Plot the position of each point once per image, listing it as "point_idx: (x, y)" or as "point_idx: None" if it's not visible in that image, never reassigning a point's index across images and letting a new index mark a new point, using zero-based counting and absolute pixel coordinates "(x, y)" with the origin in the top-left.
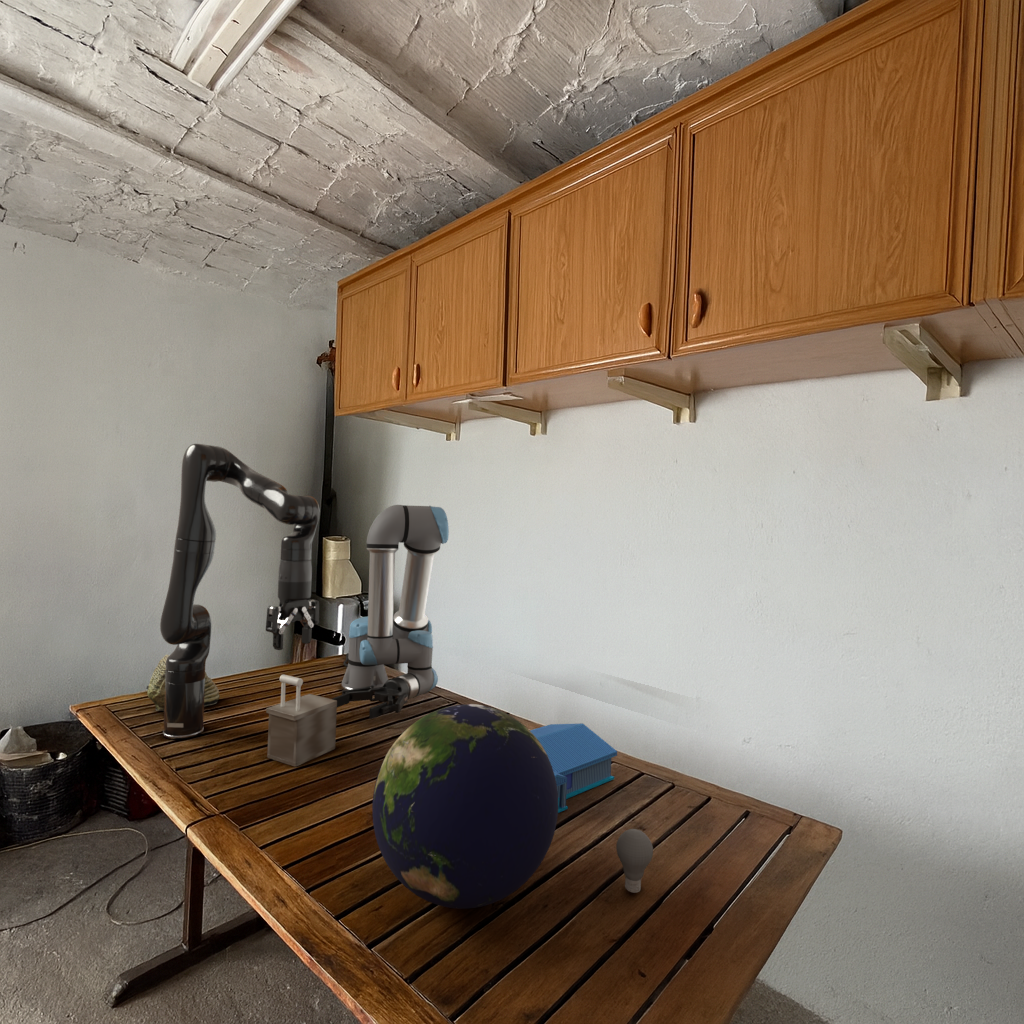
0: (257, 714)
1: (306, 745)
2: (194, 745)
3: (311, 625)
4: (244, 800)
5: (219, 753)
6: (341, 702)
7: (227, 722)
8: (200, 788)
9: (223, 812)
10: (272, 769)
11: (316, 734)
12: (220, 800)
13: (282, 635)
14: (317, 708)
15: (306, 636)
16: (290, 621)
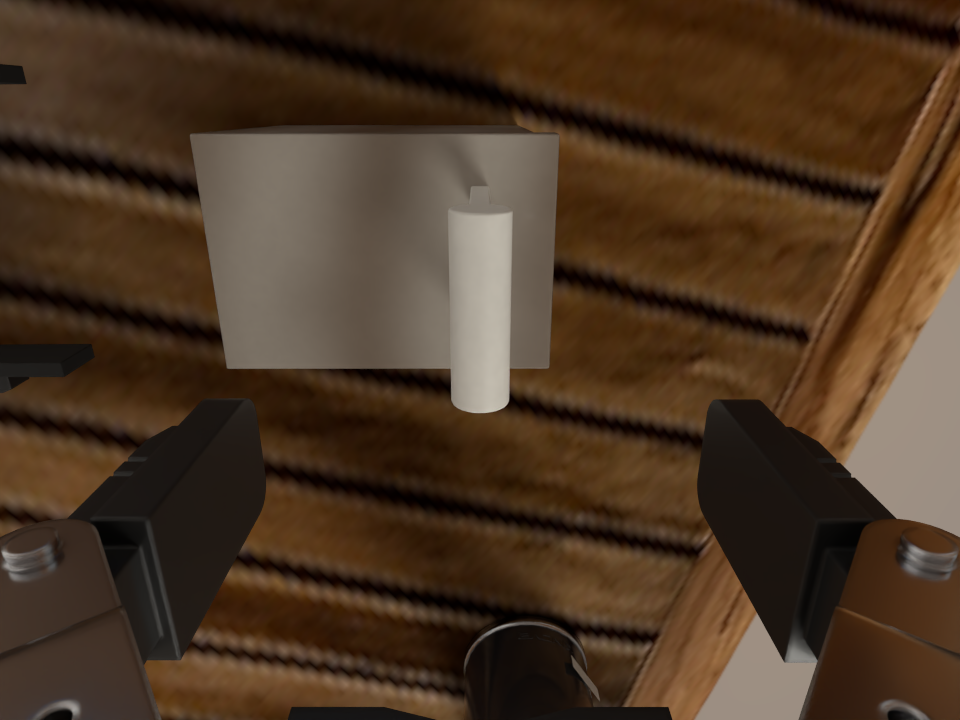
0: (257, 624)
1: (458, 127)
2: (574, 563)
3: (49, 545)
4: (842, 51)
5: (578, 454)
6: (15, 351)
7: (375, 637)
8: (824, 273)
9: (950, 36)
10: (583, 188)
11: (391, 128)
12: (875, 132)
13: (825, 509)
14: (368, 133)
15: (218, 479)
16: (832, 689)
